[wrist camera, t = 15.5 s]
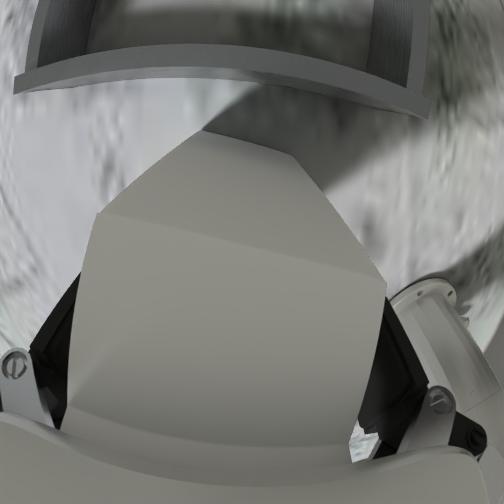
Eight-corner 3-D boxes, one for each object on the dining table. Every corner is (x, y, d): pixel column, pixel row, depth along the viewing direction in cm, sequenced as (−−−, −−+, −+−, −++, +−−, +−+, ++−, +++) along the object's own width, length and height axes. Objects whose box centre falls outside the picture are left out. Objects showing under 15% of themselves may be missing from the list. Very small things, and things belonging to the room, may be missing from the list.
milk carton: (199, 129, 18) (-20, 356, 2) (293, 155, 19) (459, 415, 3) (179, 215, 21) (90, 470, 5) (264, 236, 23) (296, 496, 6)
